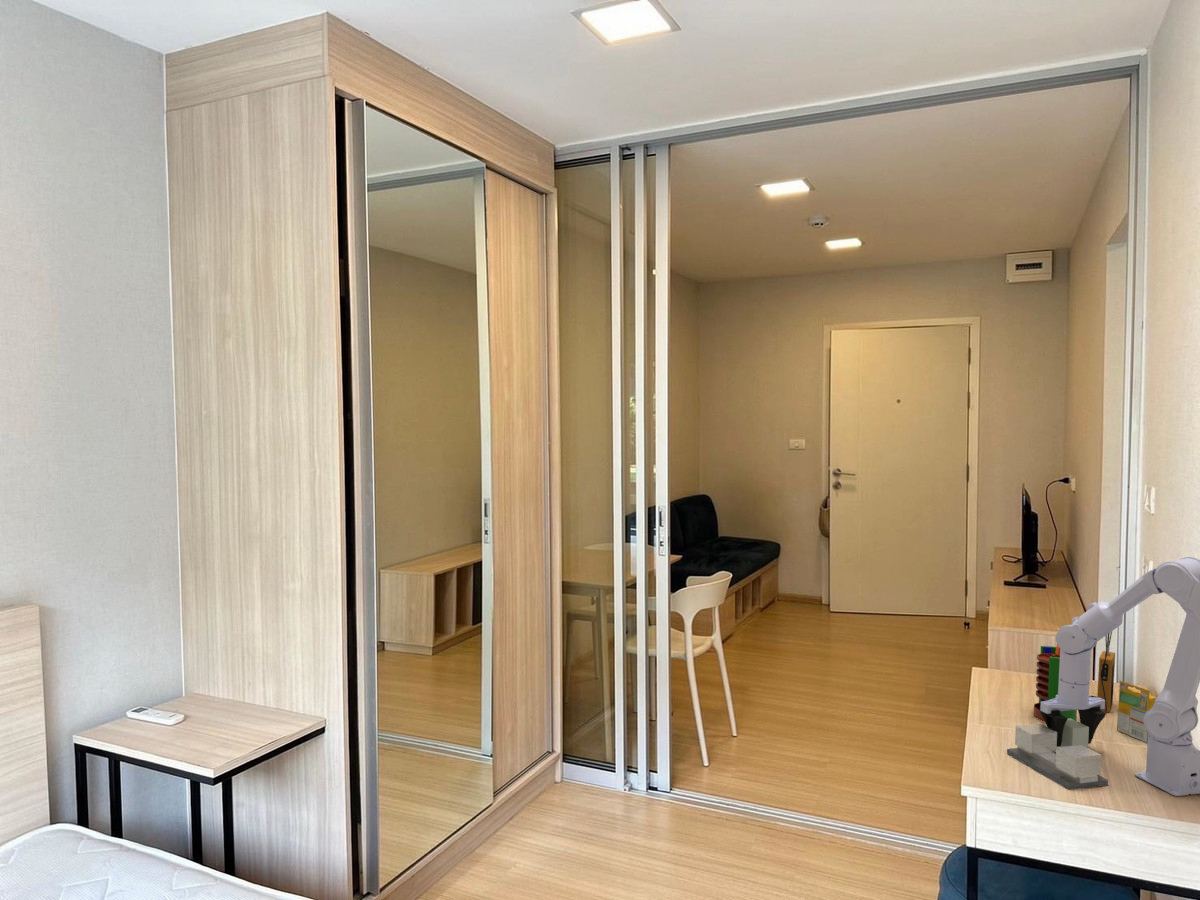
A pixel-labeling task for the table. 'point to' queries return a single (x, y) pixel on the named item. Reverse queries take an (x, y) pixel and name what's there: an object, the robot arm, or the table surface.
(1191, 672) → the robot arm
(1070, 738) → the block
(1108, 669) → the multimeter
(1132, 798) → the table surface
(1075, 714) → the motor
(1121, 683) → the crayon box
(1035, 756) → the rail board
